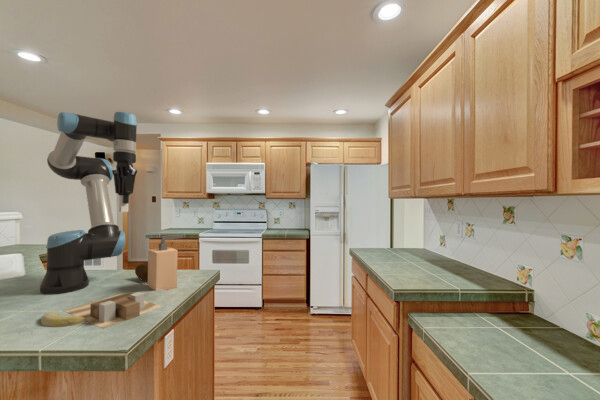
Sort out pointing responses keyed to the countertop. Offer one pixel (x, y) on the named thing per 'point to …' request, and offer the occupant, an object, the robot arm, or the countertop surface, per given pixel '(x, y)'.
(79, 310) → the board
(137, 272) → the potato
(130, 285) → the countertop surface
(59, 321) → the fruit
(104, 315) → the posts
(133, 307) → the tee
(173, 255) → the pump bottle
